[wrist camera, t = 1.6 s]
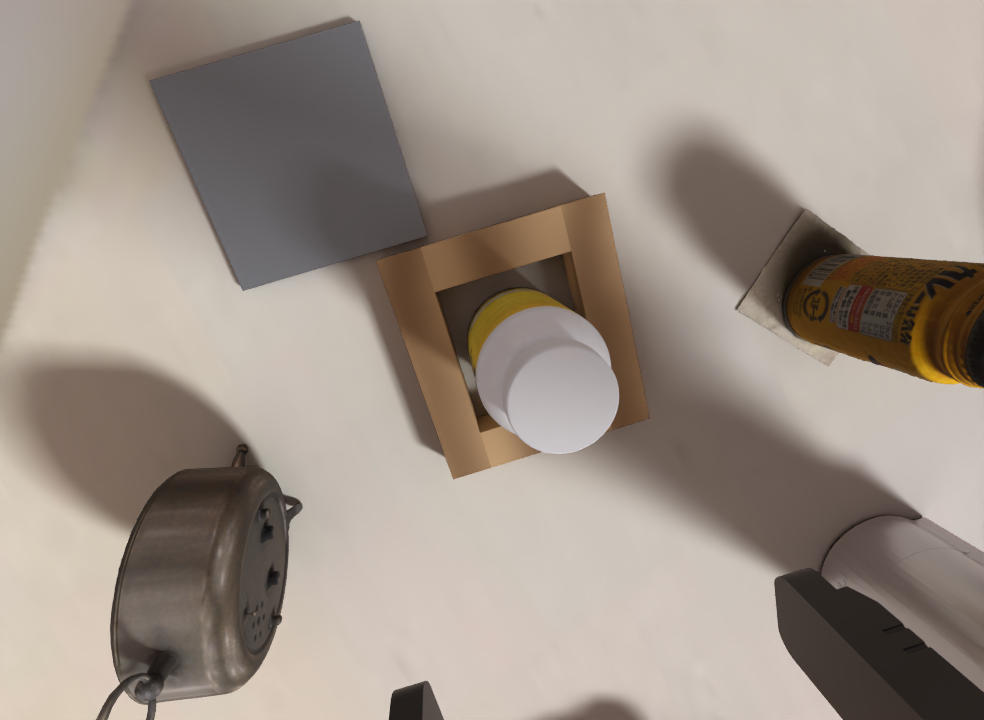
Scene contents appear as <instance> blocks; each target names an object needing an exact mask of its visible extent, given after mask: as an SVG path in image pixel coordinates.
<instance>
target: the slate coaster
mask: <svg viewBox="0 0 984 720" xmlns="http://www.w3.org/2000/svg"><path fill="white" fill-rule="evenodd" d="M149 82H150V84H151V86H152V89H153V91H154V93H155V95H156V97H157V100H158V102H159V104H160V106H161V109H162V111H163V113H164V115H165V118H166V120H167V122H168V124H169V127H170V129H171V131H172V133H173V136H174V138H175V140H176V142H177V145H178V147H179V149H180V151H181V154H182V156H183V158H184V160H185V163H186V165H187V167H188V169H189V171H190V174H191V176H192V178H193V180H194V183H195V185H196V187H197V189H198V192H199V194H200V196H201V198H202V201H203V203H204V205H205V207H206V210H207V212H208V214H209V216H210V219H211V221H212V223H213V225H214V228H215V230H216V232H217V234H218V236H219V239H220V241H221V243H222V245H223V248H224V250H225V252H226V254H227V257H228V259H229V261H230V263H231V266H232V268H233V270H234V272H235V275H236V277H237V279H238V281H239V284H240V286H241V288H242V290H243V291H244V290H247V289H251V288H254V287H257V286H261V285H264V284H267V283H271V282H274V281H277V280H281V279H284V278H288V277H291V276H294V275H298V274H301V273H304V272H308V271H311V270H314V269H318V268H321V267H324V266H328V265H331V264H334V263H338V262H341V261H344V260H348V259H351V258H355V257H358V256H361V255H365V254H368V253H371V252H375V251H378V250H381V249H385V248H388V247H391V246H395V245H398V244H401V243H405V242H408V241H411V240H415V239H418V238H421V237H425V236H428V235H427V232H426V229H425V225H424V222H423V219H422V216H421V213H420V210H419V206H418V203H417V200H416V197H415V194H414V191H413V187H412V184H411V181H410V178H409V175H408V172H407V168H406V165H405V162H404V159H403V156H402V153H401V149H400V146H399V143H398V140H397V137H396V134H395V130H394V127H393V124H392V121H391V118H390V114H389V111H388V108H387V105H386V102H385V99H384V95H383V92H382V89H381V86H380V83H379V80H378V76H377V73H376V70H375V67H374V64H373V61H372V57H371V54H370V51H369V48H368V45H367V42H366V38H365V35H364V32H363V29H362V26H361V23H360V21H356V22H353V23H349V24H346V25H342V26H339V27H335V28H332V29H328V30H325V31H321V32H318V33H314V34H311V35H307V36H304V37H300V38H297V39H294V40H290V41H287V42H283V43H280V44H276V45H273V46H269V47H266V48H262V49H259V50H255V51H252V52H248V53H245V54H241V55H238V56H234V57H231V58H227V59H224V60H220V61H217V62H213V63H210V64H206V65H203V66H199V67H196V68H192V69H189V70H185V71H182V72H178V73H175V74H172V75H168V76H165V77H161V78H158V79H154V80H151V81H149Z"/></svg>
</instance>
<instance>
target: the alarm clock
mask: <svg viewBox="0 0 984 720" xmlns="http://www.w3.org/2000/svg"><path fill="white" fill-rule="evenodd" d="M237 452H238V453H237V455H236V457H235V458H234V460H233V463H232V467H223V468H203V469H185V470H182V471H180V472H177V473H176V474H174V475H172V476H171V477H170V478H168V479H167V480H166V481H165V482H164V483H163V484H162V485H161V486H159V487H158V488H157V489H156V491H155V492H154V493H153V495H152V496H151V497H150V499H149V500H148V502H147V503H146V505H145V506H144V508H143V510H142V512H141V514H140V515H139V517H138V519H137V522H136V524H135V526H134V528H133V530H132V532H131V535H130V537H129V540H128V543H127V545H126V548H125V551H124V555H123V557H122V560H121V565H120V567H119V572H118V577H117V581H116V586H115V593H114V600H113V604H112V611H111V624H110V634H111V649H112V656H113V663H114V667H115V671H116V674H117V677H118V680H119V682H120V685H119V686H118V687H117V688H116V689H115V690H114V691H113V692H112V693H111V694H110V695H109V697H108V699H107V700H106V702H105V703H104V705H103V707H102V709H101V711H100V713H99V715H98V717H97V719H96V720H107V719H108V717H109V714H110V712H111V709H112V707H113V705H114V703H115V702H116V700H117V699H118V697H119V696H120V694H121V693H122V692H123V691H125V692H126V693H127V694H128V696H129V697H130V698H131V699H132V700H134V701H135V702H137V703H139V704H143V705H148V713H147V718H146V720H154V717H155V712H156V703H158V702H165V701H173V700H182V699H190V698H199V697H207V696H215V695H222V694H228V693H231V692H233V691H235V690H237V689H239V688H240V687H242V686H243V685H244V684H245V683H246V682H247V681H248V680H249V679H250V678H251V677H252V676H253V675H254V674H255V673H256V671H257V670H258V669H259V667H260V665H261V664H262V662H263V660H264V659H265V657H266V655H267V653H268V651H269V648H270V646H271V643H272V641H273V638H274V635H275V632H276V628H277V625H279V624H280V623H281V621H282V616H281V615H280V614H281V609H282V604H283V599H284V593H285V586H286V579H287V568H288V554H289V535H288V530H289V523H290V520H292V518H293V517H294V516H296V515H297V514H298V513H299V512H300V511H301V510H302V503H298V504H296V505H295V506H294V507H292V508H290V509H289V510H286V505H285V501H284V497H283V494H282V491H281V488H280V486H279V484H278V483H277V481H276V479H275V478H274V477H273V476H272V475H271V474H270V473H269V472H267V471H265V470H264V469H262V468H259V467H256V466H248V467H244V466H245V454H246V453H247V452H248V446H247V445H245V444H243V445H239V446H238V447H237Z"/></svg>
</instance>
